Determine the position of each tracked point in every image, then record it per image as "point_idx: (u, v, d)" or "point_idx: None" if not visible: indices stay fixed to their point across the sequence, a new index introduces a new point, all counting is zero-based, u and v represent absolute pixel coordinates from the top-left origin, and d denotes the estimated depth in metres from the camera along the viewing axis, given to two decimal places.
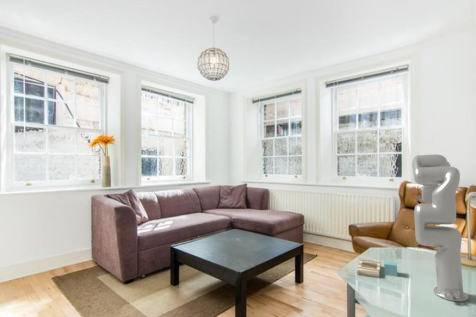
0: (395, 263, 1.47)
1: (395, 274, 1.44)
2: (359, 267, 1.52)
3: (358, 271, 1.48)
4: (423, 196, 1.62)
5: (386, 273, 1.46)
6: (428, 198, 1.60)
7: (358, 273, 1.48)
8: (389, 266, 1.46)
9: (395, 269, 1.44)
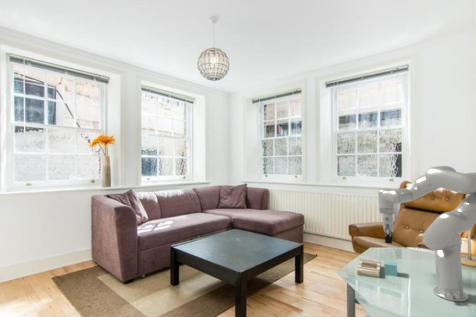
0: (395, 263, 1.47)
1: (395, 274, 1.44)
2: (359, 267, 1.52)
3: (358, 271, 1.48)
4: (392, 225, 1.44)
5: (386, 273, 1.46)
6: (393, 226, 1.46)
7: (358, 273, 1.48)
8: (389, 266, 1.46)
9: (395, 269, 1.44)
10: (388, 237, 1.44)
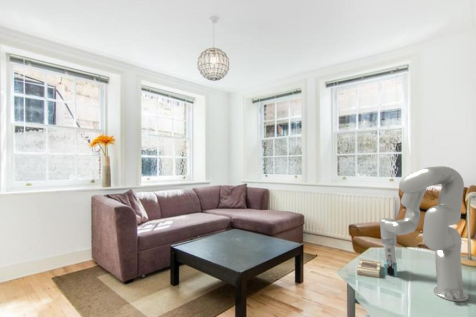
0: (395, 263, 1.47)
1: (395, 274, 1.44)
2: (359, 267, 1.52)
3: (358, 271, 1.48)
4: (394, 256, 1.43)
5: (386, 273, 1.46)
6: (395, 257, 1.45)
7: (358, 273, 1.48)
8: None
9: (395, 269, 1.44)
10: (390, 269, 1.44)
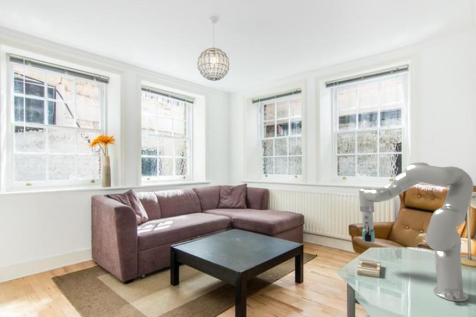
0: (372, 230, 1.53)
1: (372, 240, 1.50)
2: (359, 267, 1.52)
3: (358, 271, 1.48)
4: (371, 223, 1.49)
5: (364, 240, 1.52)
6: (372, 224, 1.51)
7: (358, 273, 1.48)
8: None
9: (372, 235, 1.50)
10: (367, 235, 1.50)
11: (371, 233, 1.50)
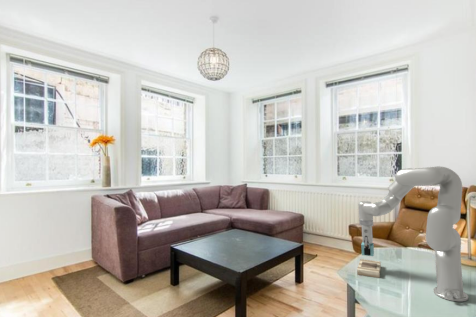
0: (372, 244, 1.53)
1: (371, 254, 1.50)
2: (359, 267, 1.52)
3: (358, 271, 1.48)
4: (371, 237, 1.49)
5: (363, 253, 1.52)
6: (372, 238, 1.51)
7: (358, 273, 1.48)
8: None
9: (371, 249, 1.50)
10: (367, 249, 1.50)
11: (370, 247, 1.51)
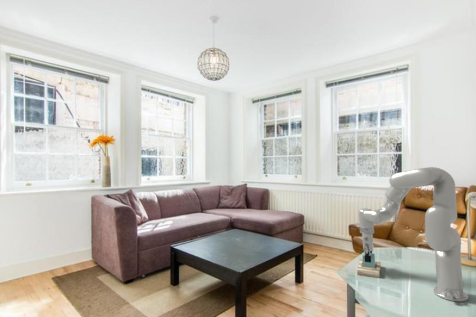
0: (373, 255, 1.53)
1: (372, 265, 1.50)
2: (359, 267, 1.52)
3: (358, 271, 1.48)
4: (371, 245, 1.49)
5: (364, 264, 1.52)
6: (372, 246, 1.51)
7: (358, 273, 1.48)
8: None
9: (372, 260, 1.50)
10: (367, 256, 1.49)
11: (372, 258, 1.50)
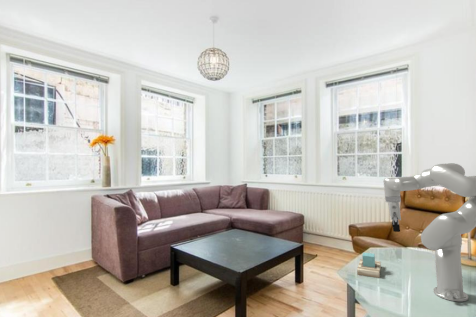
0: (373, 255, 1.53)
1: (372, 265, 1.50)
2: (359, 267, 1.52)
3: (358, 271, 1.48)
4: None
5: (364, 264, 1.52)
6: (400, 215, 1.46)
7: (358, 273, 1.48)
8: (367, 257, 1.51)
9: (372, 260, 1.50)
10: (396, 225, 1.43)
11: (372, 258, 1.50)
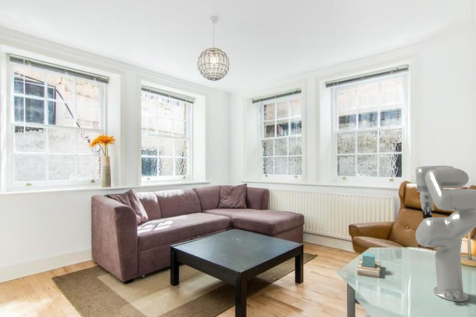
0: (373, 255, 1.53)
1: (372, 265, 1.50)
2: (359, 267, 1.52)
3: (358, 271, 1.48)
4: None
5: (364, 264, 1.52)
6: None
7: (358, 273, 1.48)
8: (367, 257, 1.51)
9: (372, 260, 1.50)
10: (428, 215, 1.38)
11: (372, 258, 1.50)
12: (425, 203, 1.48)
